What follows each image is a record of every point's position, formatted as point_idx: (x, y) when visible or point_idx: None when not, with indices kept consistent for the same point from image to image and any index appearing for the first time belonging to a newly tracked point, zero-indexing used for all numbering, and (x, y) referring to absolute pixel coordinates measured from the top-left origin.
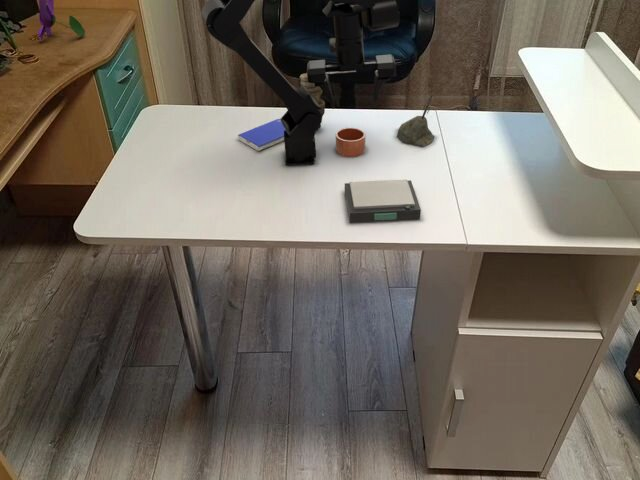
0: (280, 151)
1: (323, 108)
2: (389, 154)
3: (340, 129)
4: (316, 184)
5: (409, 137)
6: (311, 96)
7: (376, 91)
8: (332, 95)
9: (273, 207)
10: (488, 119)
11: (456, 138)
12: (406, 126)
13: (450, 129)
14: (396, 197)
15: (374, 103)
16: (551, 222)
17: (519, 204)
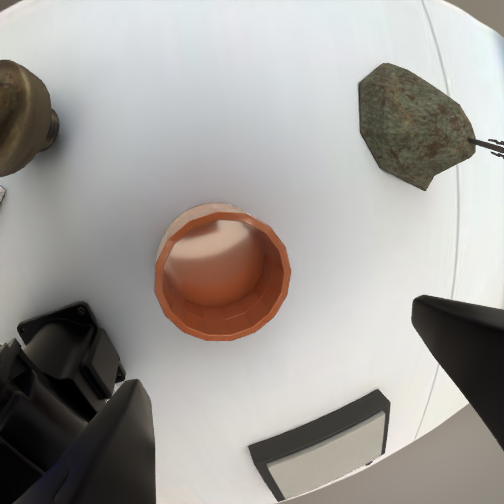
0: (6, 320)
1: (36, 125)
2: (346, 254)
3: (165, 247)
4: (174, 439)
5: (409, 174)
6: (13, 472)
7: (483, 408)
8: (119, 441)
9: None
10: (495, 55)
11: None
12: (415, 141)
13: (461, 87)
14: (356, 460)
15: (422, 333)
16: None
17: None
